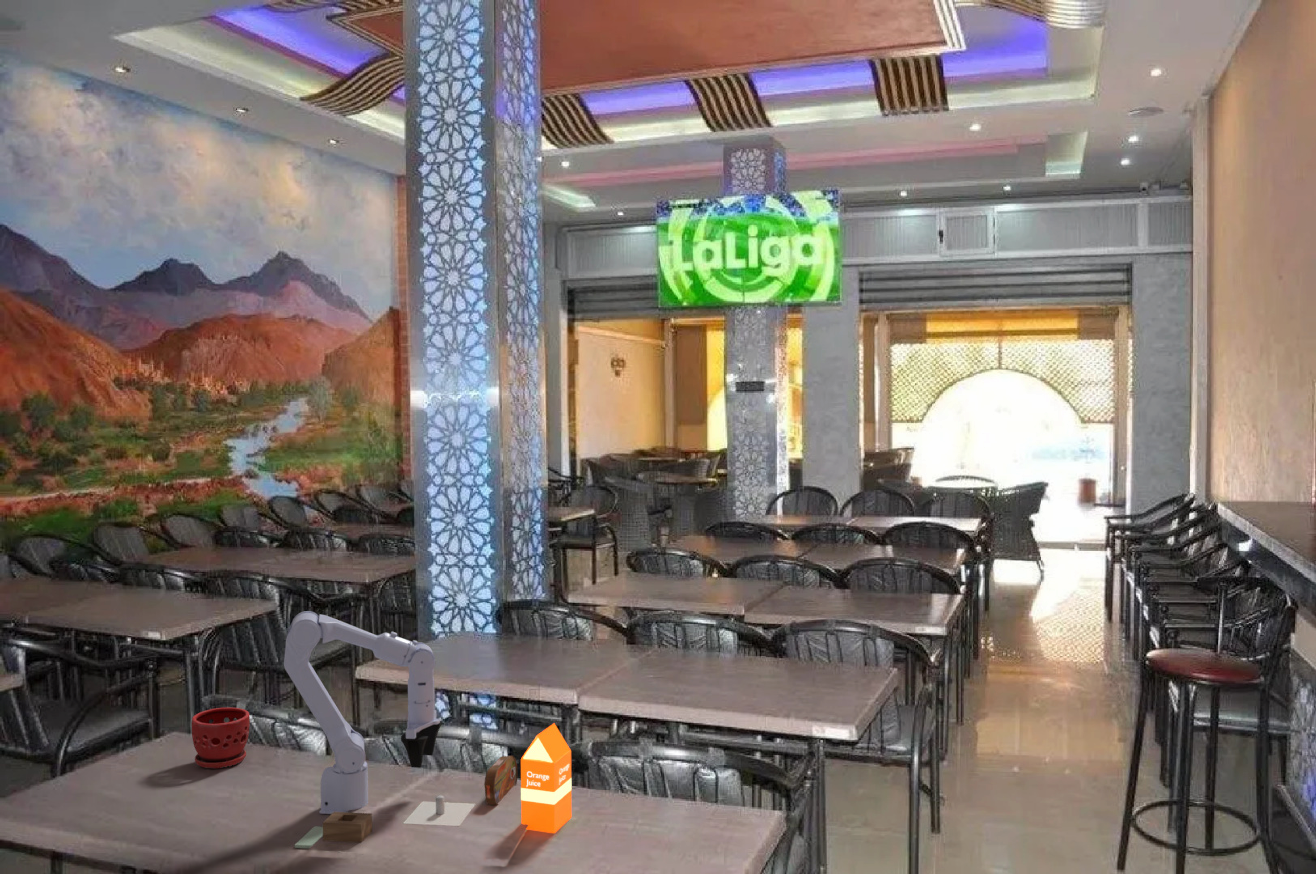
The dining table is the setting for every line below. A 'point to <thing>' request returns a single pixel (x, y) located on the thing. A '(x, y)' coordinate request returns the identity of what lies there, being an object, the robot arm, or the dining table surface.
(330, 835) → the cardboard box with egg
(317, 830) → the mat
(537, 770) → the orange juice
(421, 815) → the stand
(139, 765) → the dining table surface
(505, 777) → the tin
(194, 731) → the plant pot
